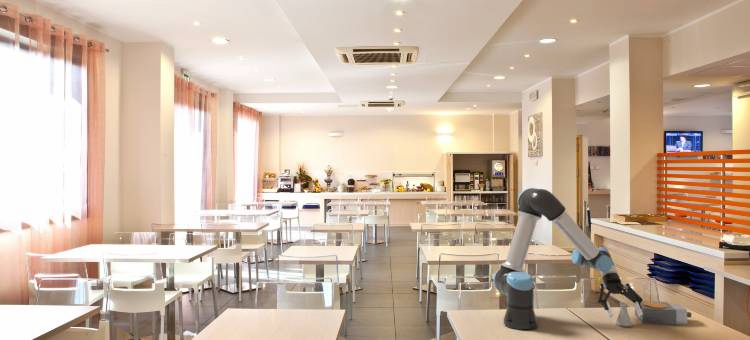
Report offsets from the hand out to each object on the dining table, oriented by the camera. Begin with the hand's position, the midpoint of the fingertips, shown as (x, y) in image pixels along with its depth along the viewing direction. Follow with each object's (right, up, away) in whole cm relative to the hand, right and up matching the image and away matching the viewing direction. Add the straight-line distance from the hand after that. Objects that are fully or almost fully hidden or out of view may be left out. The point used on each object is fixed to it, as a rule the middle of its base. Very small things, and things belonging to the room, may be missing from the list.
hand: (626, 316), depth 223 cm
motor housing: (+22, -5, +9) cm, 24 cm away
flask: (0, -5, +2) cm, 5 cm away
